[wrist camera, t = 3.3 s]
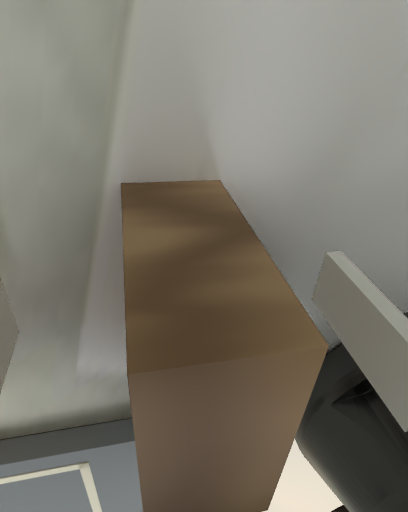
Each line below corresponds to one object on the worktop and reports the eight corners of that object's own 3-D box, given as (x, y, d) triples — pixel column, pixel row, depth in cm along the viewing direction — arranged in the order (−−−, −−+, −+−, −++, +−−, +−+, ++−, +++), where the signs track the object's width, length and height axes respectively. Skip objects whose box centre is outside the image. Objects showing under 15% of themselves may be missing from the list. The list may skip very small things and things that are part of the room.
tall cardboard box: (219, 180, 14) (329, 345, 7) (208, 319, 19) (267, 509, 11) (121, 182, 13) (127, 374, 6) (133, 328, 18) (146, 539, 11)
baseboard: (172, 411, 23) (175, 434, 21) (172, 502, 30) (174, 522, 29) (-151, 465, 19) (-169, 496, 18) (-57, 552, 27) (-65, 578, 25)
